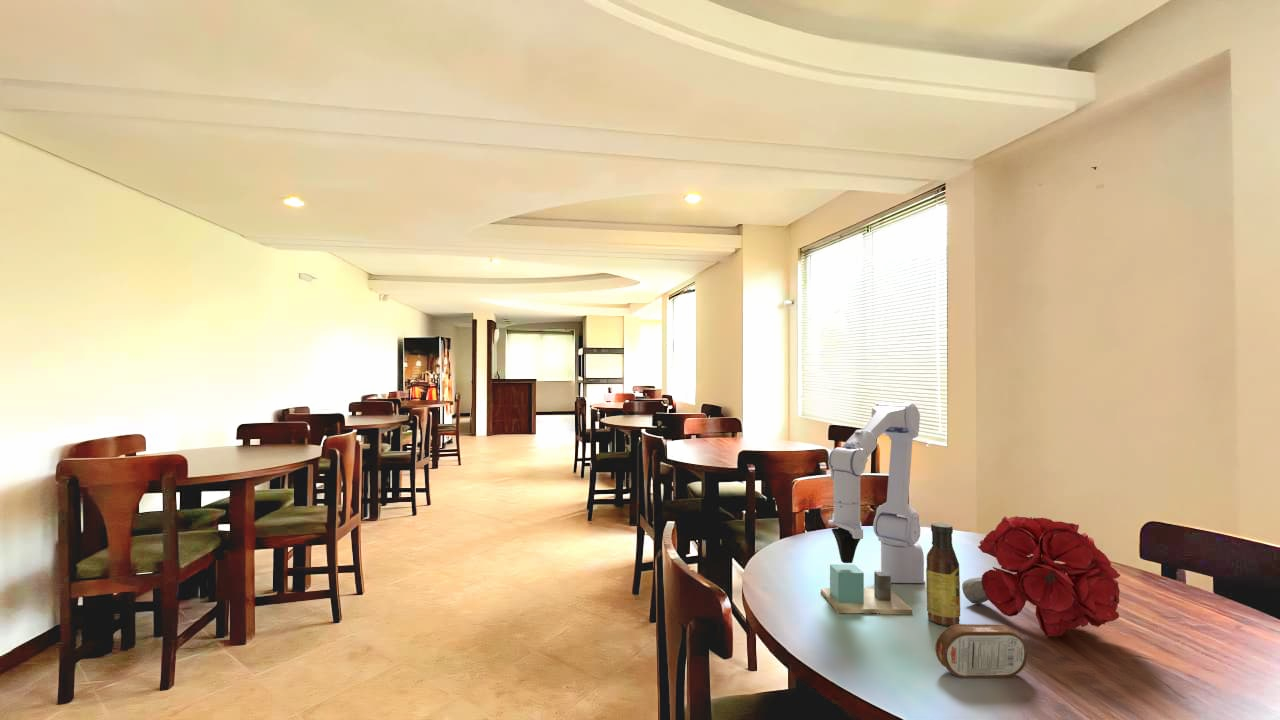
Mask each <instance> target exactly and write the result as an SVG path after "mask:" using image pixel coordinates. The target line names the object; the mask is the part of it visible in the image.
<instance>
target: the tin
mask: <svg viewBox="0 0 1280 720" xmlns="http://www.w3.org/2000/svg"><path fill="white" fill-rule="evenodd" d="M935 654H936V657H937V660H938V661H939V663H940V664H941V665H942V666H943V667H944V668H945V669H946V670H948V671H949V672H950V673H951V674H952V675H954V676H956V677H958V678H963V679H973V678H974V679H978V678H979V679H981V678H982V679H985V678H986V679H1004V678H1005V679H1006V678H1012V677H1014V676H1017V675H1018V674H1020V673H1021V672H1022V671H1023V670H1024V667H1026V664H1027V660H1028V656H1029V655H1028V654H1029V652H1028V646H1027V643H1026V641H1025V640H1024V639H1023V638H1022V636H1020V635H1019V634H1018V633H1017V632H1015V630H1013V629H1012V627H1009V626H1008V625H1005V624H997V623H995V624H993V623H991V624H988V623H987V624H986V623H985V624H983V623H982V624H981V623H980V624H975V623H973V624H972V623H968V624H967V623H958V624H956V625H952V626H948V627H947V628H945V629H944V630H943V631H942V632H941V633H940V634H939V635H938V637H937V640H936V643H935Z"/></svg>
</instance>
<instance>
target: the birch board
mask: <svg viewBox="0 0 1280 720" xmlns="http://www.w3.org/2000/svg"><path fill="white" fill-rule="evenodd" d="M873 576H874V579H873V580H874V581H873V582H874V586H873V587H874V588H866V587H865V588H864V603H838V602H837V601H836V600H835V599H834V597H833V596H832V595H831V594H830V587H821V588H820V593H821V592H822V593H821V595H824V596H825V597H826V598H827V599H826V598H825V597H824V596H823V597H824V598H825V599H826V601H827V600H828V601H829V602H830V603H831V604H830V603H829V602H828V601H827V602H828V603H829V604H830V606H831V605H832V606H833V607H834V608H833V607H832V606H831V607H832V608H833V610H834V611H835V610H836V611H837V612H838V613H877V614H876V615H913V609H912V608H911V607H910V606H909V605H908V604H907V603H906V602H905V601H904V600H903V599H901V598H900V596H898V595H897V594H896V593H895V592H893V591H892V588H891V587H892V586H891V585H892V583H891V576H890V575H889V574H888V573H887V572H875V571H874V575H873ZM836 611H835V612H836ZM837 612H836V613H837ZM838 613H837V614H838ZM879 613H880V614H879Z"/></svg>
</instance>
